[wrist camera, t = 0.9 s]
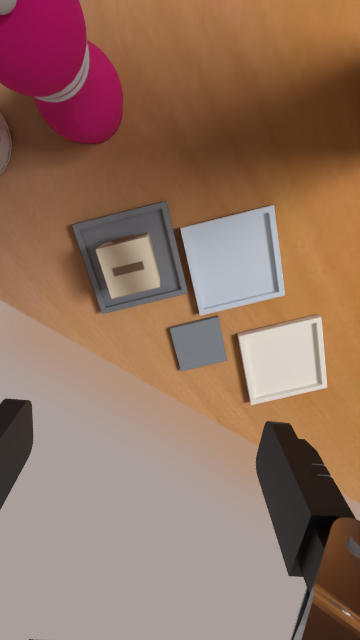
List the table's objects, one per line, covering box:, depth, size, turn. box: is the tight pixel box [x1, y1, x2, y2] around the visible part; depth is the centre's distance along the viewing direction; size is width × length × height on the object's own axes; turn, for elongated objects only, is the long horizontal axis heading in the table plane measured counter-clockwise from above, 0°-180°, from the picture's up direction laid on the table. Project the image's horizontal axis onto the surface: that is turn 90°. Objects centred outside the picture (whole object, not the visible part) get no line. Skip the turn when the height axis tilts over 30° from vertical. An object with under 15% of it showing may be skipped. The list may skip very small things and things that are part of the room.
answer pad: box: [170, 316, 227, 371], centre depth 40 cm, size 6×6×1 cm
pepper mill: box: [0, 0, 123, 144], centre depth 22 cm, size 7×7×20 cm
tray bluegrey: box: [180, 205, 285, 315], centre depth 37 cm, size 10×10×1 cm
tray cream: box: [237, 314, 327, 405], centre depth 42 cm, size 10×10×1 cm
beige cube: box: [96, 232, 160, 299], centre depth 34 cm, size 5×5×5 cm
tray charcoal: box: [72, 201, 188, 314], centre depth 36 cm, size 10×10×1 cm
